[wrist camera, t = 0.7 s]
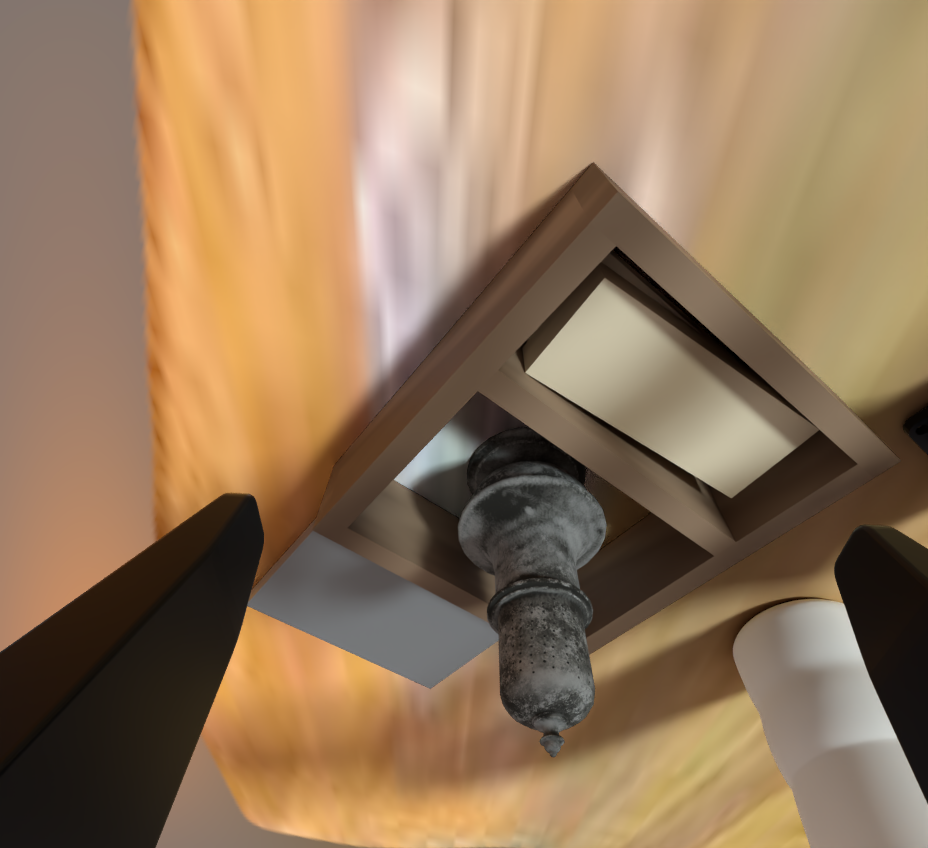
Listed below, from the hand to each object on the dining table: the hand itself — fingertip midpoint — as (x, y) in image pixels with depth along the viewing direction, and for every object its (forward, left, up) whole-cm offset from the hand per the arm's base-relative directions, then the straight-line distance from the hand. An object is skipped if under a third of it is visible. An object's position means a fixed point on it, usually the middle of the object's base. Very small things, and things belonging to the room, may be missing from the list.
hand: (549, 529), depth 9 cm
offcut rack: (-7, +4, -13) cm, 16 cm away
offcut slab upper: (-7, 0, -12) cm, 14 cm away
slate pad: (-7, +18, -13) cm, 24 cm away
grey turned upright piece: (-7, +7, -14) cm, 17 cm away
